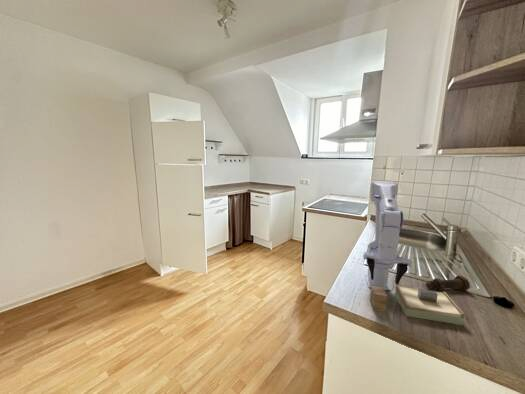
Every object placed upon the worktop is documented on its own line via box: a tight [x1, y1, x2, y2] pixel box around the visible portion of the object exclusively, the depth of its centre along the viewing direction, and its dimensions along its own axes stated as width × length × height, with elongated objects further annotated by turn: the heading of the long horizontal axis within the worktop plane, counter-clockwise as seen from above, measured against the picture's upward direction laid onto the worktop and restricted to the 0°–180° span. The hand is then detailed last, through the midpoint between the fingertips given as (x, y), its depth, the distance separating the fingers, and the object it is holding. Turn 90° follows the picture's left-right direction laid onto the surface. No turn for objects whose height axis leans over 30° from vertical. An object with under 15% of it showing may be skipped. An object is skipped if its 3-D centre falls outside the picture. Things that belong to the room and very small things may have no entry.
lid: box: [399, 286, 461, 318], centre depth 77 cm, size 12×14×4 cm
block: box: [369, 286, 388, 312], centre depth 79 cm, size 5×4×6 cm
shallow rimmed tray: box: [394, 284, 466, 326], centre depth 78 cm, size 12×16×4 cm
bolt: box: [425, 275, 471, 292], centre depth 89 cm, size 6×5×15 cm
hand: (384, 280), depth 78 cm, fingers open, 7 cm apart
